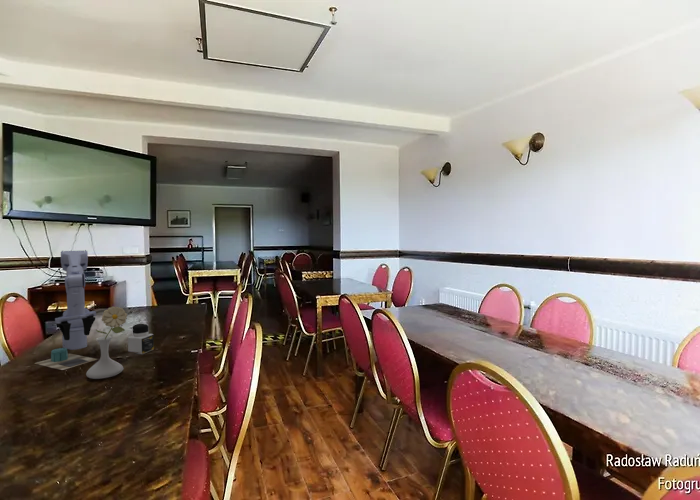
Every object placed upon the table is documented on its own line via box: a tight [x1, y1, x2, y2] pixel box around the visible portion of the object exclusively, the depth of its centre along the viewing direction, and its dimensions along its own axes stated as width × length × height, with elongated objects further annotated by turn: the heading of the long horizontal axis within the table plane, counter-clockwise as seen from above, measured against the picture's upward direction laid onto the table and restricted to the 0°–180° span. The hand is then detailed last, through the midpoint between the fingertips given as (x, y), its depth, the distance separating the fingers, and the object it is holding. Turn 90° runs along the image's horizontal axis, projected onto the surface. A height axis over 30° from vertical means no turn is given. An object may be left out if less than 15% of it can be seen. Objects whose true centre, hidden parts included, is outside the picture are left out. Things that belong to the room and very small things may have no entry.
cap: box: [50, 347, 69, 362], centre depth 151 cm, size 5×5×4 cm
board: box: [34, 353, 99, 371], centre depth 149 cm, size 18×13×4 cm
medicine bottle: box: [127, 323, 155, 355], centre depth 164 cm, size 7×7×12 cm
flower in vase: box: [85, 306, 128, 380], centre depth 137 cm, size 13×11×25 cm
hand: (77, 337), depth 152 cm, fingers open, 7 cm apart
